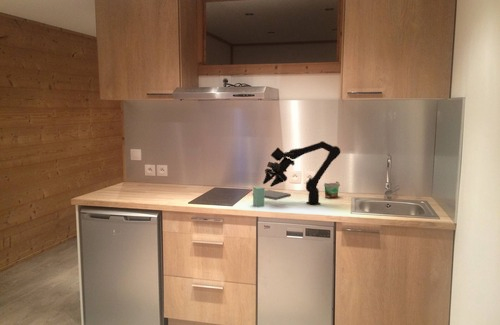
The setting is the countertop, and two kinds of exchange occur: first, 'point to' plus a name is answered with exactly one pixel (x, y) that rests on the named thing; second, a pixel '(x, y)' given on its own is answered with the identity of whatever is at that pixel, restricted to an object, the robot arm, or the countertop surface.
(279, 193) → the mat
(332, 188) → the food container
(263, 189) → the block
